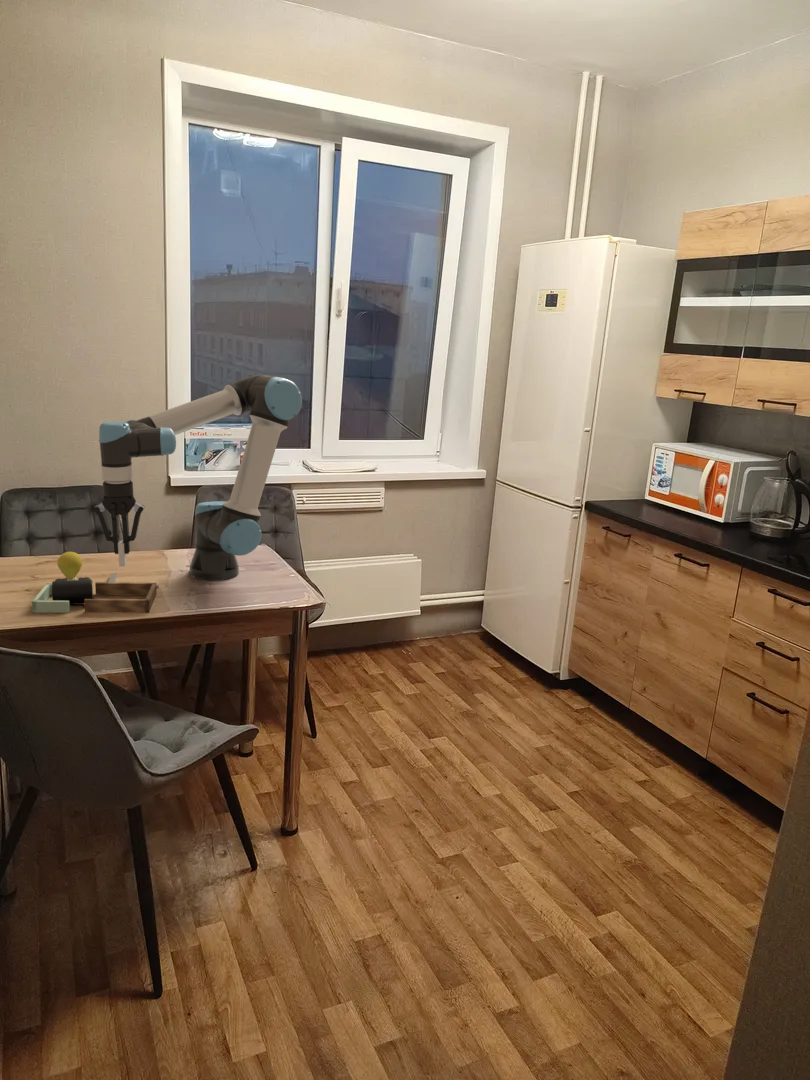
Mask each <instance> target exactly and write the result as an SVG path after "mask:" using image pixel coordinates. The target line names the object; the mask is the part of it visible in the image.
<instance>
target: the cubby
mask: <svg viewBox="0 0 810 1080" xmlns="http://www.w3.org/2000/svg"><path fill="white" fill-rule="evenodd" d="M157 584H158V583H157V582H133V581H132V582H128V581H127V582H122V581H121V582H119V581H118V582H117V581H116V582H105V581H96V582H95V583H94V585H95V595H96V596H146V597H145V598H143V599H141V598H138V599H137V598H130V599H129V598H93V599H85V600H84V603H83V604H84V605H83V606H84V613H89V614H90V613H94V614H95V613H97V614H99V613H100V614H101V613H103V614H104V613H107V614H110V613H112V614H113V613H115V614H116V613H117V614H118V613H119V614H120V613H121V614H123V613H124V614H126V613H128V614H129V613H130V614H131V613H132V614H134V613H135V614H137V613H138V614H139V613H140V614H142V613H143V614H149V613H150V612H151V609H152V607H153V604H154V602H155V599H156V597H157V594H158V591H157V590H158V589H157ZM144 612H145V613H144Z"/></svg>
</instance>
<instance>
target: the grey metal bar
mask: <svg viewBox="0 0 810 1080" xmlns="http://www.w3.org/2000/svg"><path fill="white" fill-rule="evenodd" d="M117 577H118V574H117V572H116V573H115V572H114V573H110V576H109V578H108V582H117Z"/></svg>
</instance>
